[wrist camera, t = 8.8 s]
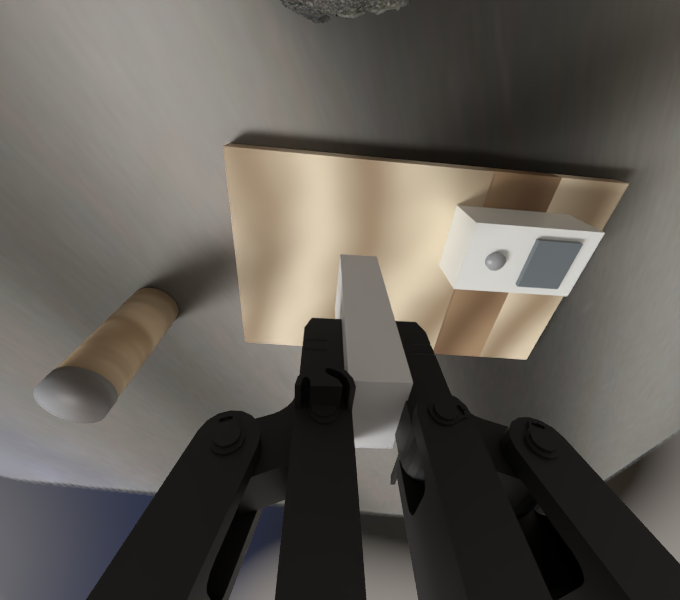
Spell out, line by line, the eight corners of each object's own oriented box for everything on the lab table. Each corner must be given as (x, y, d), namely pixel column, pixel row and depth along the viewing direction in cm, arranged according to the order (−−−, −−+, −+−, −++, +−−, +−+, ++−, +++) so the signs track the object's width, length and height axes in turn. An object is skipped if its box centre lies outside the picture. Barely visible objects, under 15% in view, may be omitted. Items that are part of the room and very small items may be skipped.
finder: (438, 265, 20) (455, 291, 18) (456, 205, 18) (478, 224, 15) (539, 272, 21) (570, 298, 18) (568, 214, 19) (609, 234, 16)
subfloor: (248, 332, 25) (245, 342, 24) (229, 143, 17) (223, 146, 16) (520, 350, 26) (527, 360, 25) (614, 179, 19) (630, 184, 18)
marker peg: (138, 322, 25) (51, 421, 17) (125, 285, 23) (20, 378, 15) (183, 325, 25) (115, 424, 17) (173, 289, 23) (92, 383, 15)
